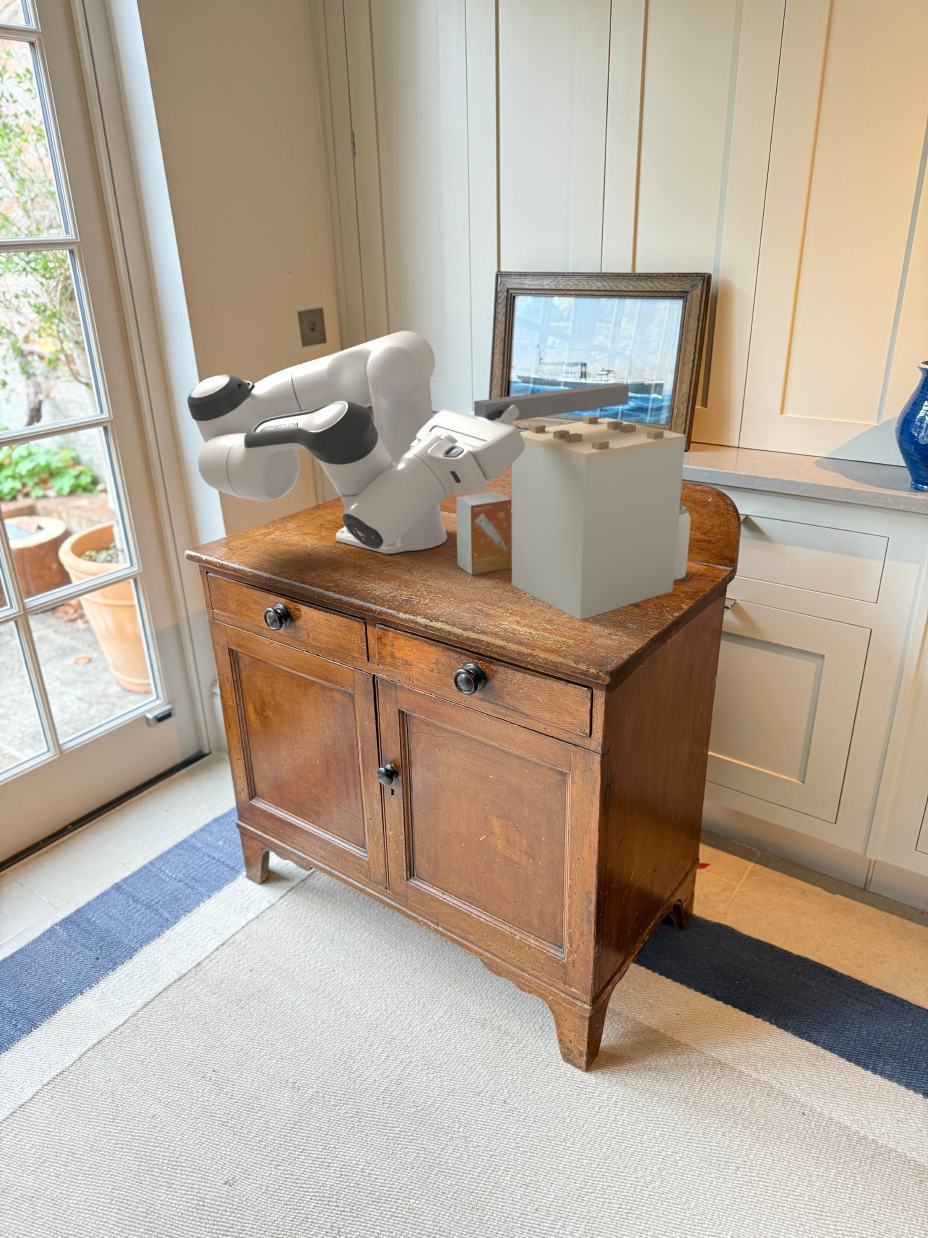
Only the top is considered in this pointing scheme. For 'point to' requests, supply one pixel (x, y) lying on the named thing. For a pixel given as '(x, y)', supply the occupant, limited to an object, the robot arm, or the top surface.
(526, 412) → the long grey bar
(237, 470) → the robot arm
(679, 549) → the can
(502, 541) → the small box
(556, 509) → the stand
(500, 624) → the top surface
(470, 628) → the top surface
